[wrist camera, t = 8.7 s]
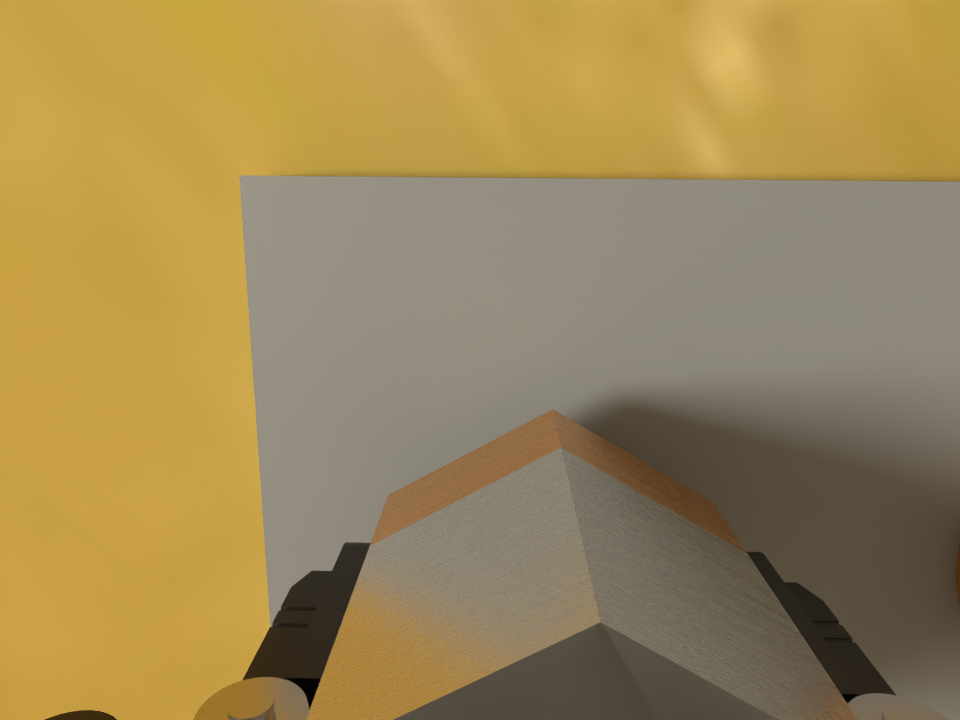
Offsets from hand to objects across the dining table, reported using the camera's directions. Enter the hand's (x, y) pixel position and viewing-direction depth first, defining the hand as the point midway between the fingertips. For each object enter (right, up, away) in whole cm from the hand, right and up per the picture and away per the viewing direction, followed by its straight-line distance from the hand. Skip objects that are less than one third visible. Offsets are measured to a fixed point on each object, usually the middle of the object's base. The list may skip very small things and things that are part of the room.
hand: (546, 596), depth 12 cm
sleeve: (0, 0, +1) cm, 1 cm away
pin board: (+6, +1, +3) cm, 7 cm away
